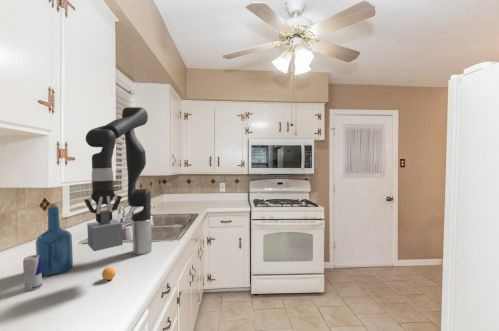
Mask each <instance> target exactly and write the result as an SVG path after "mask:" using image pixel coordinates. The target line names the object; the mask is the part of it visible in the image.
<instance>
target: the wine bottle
mask: <svg viewBox="0 0 499 331" xmlns="http://www.w3.org/2000/svg"><path fill="white" fill-rule="evenodd" d="M48 205H49V206H48V207H47V212H46V213H47V214H46V215H47V230H45V231H44V232H42V233H41V234H40V235H39V236H38V237H37V238H36V240H35V255H40V257H41V270H42V276H54V275H58V274H62V273H64V272H67V271H69V270H70V269H72V267H73V265H74V260H73V259H74V258H73V256H74V255H73V253H74V252H73V236H72V233H71V232H70V231H69V230H67V229H63V228H62V227H61V224H60V210H59V206H57V203H49V204H48Z"/></svg>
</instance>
